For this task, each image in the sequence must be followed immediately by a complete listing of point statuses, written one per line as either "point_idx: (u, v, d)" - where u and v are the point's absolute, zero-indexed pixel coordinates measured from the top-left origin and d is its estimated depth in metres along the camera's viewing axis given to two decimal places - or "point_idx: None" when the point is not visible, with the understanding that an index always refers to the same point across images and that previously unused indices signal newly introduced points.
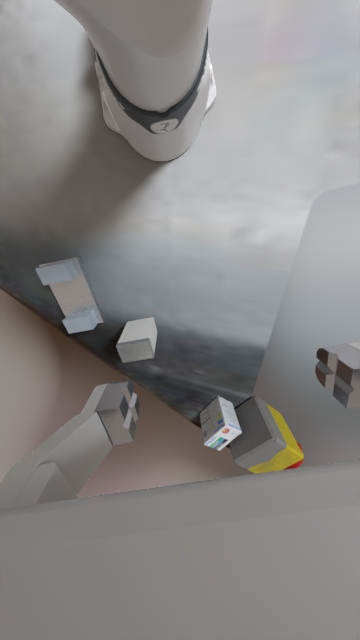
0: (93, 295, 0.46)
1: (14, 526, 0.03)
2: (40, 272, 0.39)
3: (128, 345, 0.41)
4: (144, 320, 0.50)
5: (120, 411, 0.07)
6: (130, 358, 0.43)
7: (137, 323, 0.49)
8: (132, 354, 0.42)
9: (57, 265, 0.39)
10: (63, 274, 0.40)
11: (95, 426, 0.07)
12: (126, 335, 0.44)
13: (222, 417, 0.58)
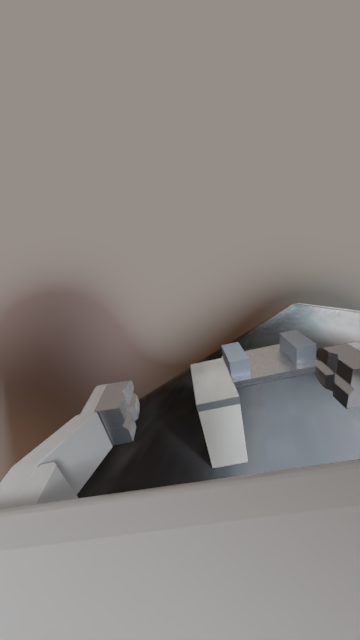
0: (271, 377, 0.35)
1: (14, 526, 0.03)
2: (294, 332, 0.39)
3: (224, 370, 0.24)
4: None
5: (120, 411, 0.07)
6: (197, 372, 0.25)
7: None
8: (206, 375, 0.24)
9: (310, 340, 0.35)
10: (301, 344, 0.35)
11: (95, 426, 0.07)
12: None
13: None
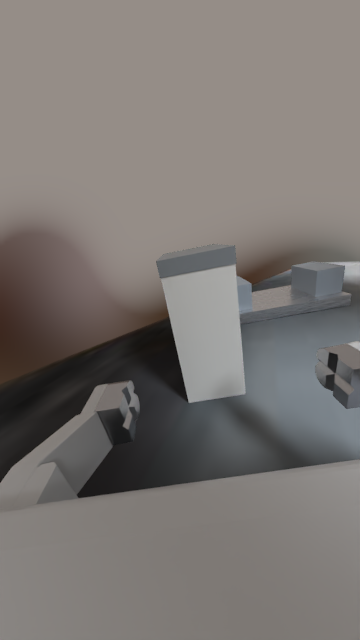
0: (280, 311, 0.26)
1: (14, 526, 0.03)
2: (311, 263, 0.30)
3: (214, 245, 0.15)
4: None
5: (120, 411, 0.07)
6: (172, 253, 0.16)
7: None
8: (183, 251, 0.15)
9: (335, 265, 0.26)
10: (323, 268, 0.26)
11: (95, 426, 0.07)
12: None
13: None
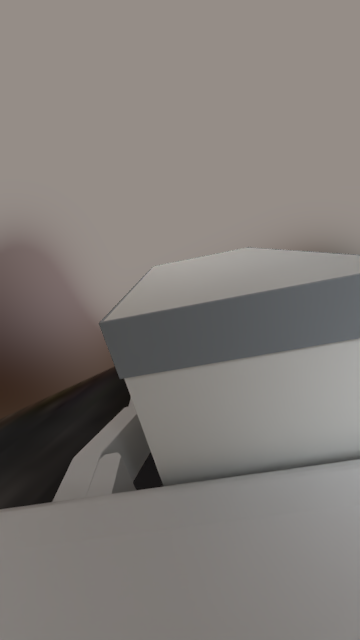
0: None
1: (14, 526, 0.03)
2: None
3: (263, 251, 0.07)
4: None
5: None
6: (168, 268, 0.07)
7: None
8: (194, 265, 0.07)
9: None
10: None
11: None
12: None
13: None
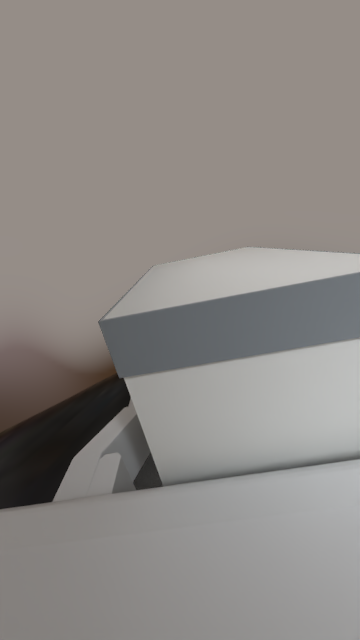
0: None
1: (14, 526, 0.03)
2: None
3: (263, 251, 0.07)
4: None
5: None
6: (168, 267, 0.07)
7: None
8: (194, 264, 0.07)
9: None
10: None
11: None
12: None
13: None
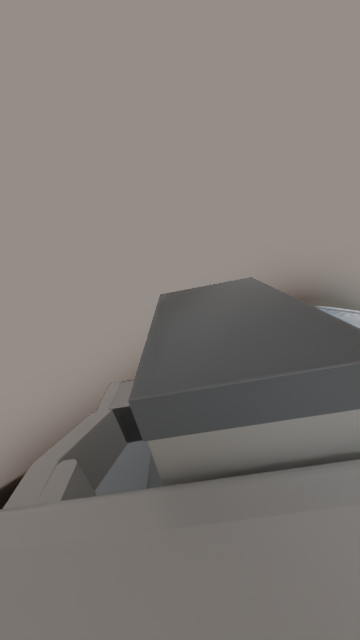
0: None
1: (14, 526, 0.03)
2: None
3: (266, 291, 0.07)
4: None
5: None
6: (176, 303, 0.08)
7: None
8: (201, 304, 0.07)
9: None
10: None
11: (111, 423, 0.07)
12: None
13: None
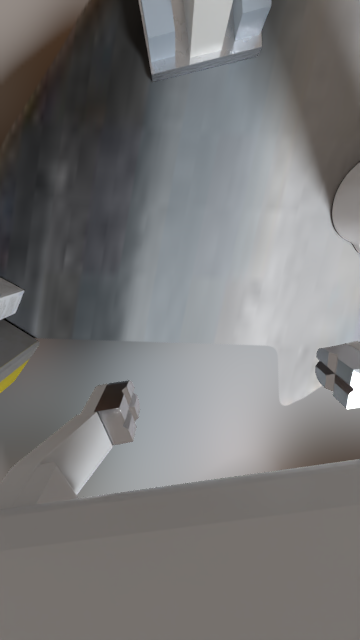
0: (198, 66, 0.29)
1: (14, 526, 0.03)
2: None
3: None
4: None
5: (120, 411, 0.07)
6: None
7: None
8: None
9: None
10: None
11: (95, 426, 0.07)
12: None
13: None
